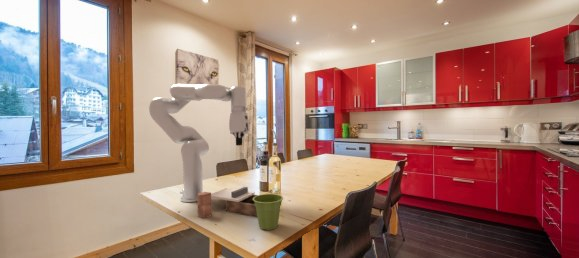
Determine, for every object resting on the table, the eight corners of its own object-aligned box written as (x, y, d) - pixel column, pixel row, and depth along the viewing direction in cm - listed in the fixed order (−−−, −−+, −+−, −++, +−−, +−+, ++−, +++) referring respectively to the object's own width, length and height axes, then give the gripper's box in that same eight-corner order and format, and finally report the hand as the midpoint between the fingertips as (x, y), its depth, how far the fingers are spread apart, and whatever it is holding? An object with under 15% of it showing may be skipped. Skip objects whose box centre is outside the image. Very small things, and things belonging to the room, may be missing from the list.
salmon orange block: (197, 217, 104) (197, 194, 104) (204, 213, 107) (204, 191, 107) (204, 218, 102) (204, 195, 102) (211, 215, 106) (211, 192, 106)
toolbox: (225, 211, 110) (225, 200, 110) (242, 202, 122) (242, 193, 122) (259, 217, 102) (258, 206, 102) (273, 207, 114) (273, 197, 114)
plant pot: (289, 225, 94) (289, 197, 94) (267, 236, 85) (267, 205, 85) (269, 218, 102) (268, 191, 101) (246, 227, 93) (246, 198, 93)
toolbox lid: (207, 197, 114) (207, 189, 114) (225, 190, 126) (225, 183, 126) (238, 202, 107) (238, 194, 107) (254, 194, 118) (254, 187, 118)
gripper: (254, 110, 125) (255, 145, 126) (231, 111, 132) (232, 144, 132) (246, 109, 118) (246, 146, 119) (222, 110, 125) (223, 145, 125)
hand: (239, 145), depth 125 cm, fingers closed
